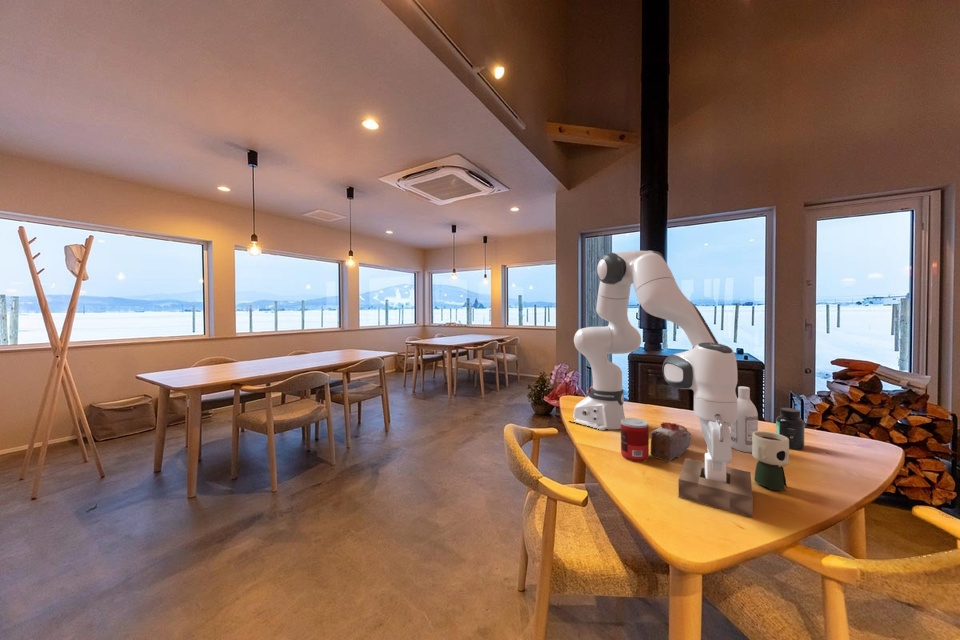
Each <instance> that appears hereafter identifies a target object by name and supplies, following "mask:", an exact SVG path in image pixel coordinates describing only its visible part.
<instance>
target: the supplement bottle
mask: <svg viewBox="0 0 960 640" xmlns="http://www.w3.org/2000/svg"><path fill="white" fill-rule="evenodd" d="M775 433H777V434H780V435H783V436H785V437H787V438H788V439H789V450H792V451H793V450H794V451H800V450H804V449H805V421H804V420H803V419H802V418H801V410H799V409H796V408H790V407H780V410H779V415H778V416H777V417H776V419H775Z"/></svg>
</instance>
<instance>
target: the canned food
mask: <svg viewBox="0 0 960 640" xmlns="http://www.w3.org/2000/svg"><path fill="white" fill-rule="evenodd" d="M649 425H650V424H649V421H647V420H645V419H642V418H637V417H625V419H622V420H621V429H620V452H621V456H622V457H623V458H624V459H625V460H628V461H631V462H636V463H637V462H645V461H647V460H649V457H650V456H649V455H650V454H649V449H650V448H649V446H650V444H649V443H650V441H649V439H650V437H649V436H650V431H649V430H650V429H649V427H650V426H649Z"/></svg>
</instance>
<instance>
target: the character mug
mask: <svg viewBox="0 0 960 640" xmlns="http://www.w3.org/2000/svg"><path fill="white" fill-rule="evenodd" d="M789 453H790V449H789V439H788V438H787V437H785V436H783V435H780V434H777V433H776V432H770V431H764V430H760V431H759V430H758V431H756V432H753V433H752V453H751V454H752V457H753V458H754V459H755V460H757V462H756V465H755V471H754V479H753V480H754V482H755V483H757V484H758V485H761V486H762V487H765V488H767V489H770V490H774V491H785V490H786V489H788V487H787V480H786V479H787V478H786V474H785V469H784V467H783V466H788V465H789V463H790V457H789V455H790V454H789Z"/></svg>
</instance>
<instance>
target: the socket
mask: <svg viewBox="0 0 960 640" xmlns="http://www.w3.org/2000/svg"><path fill="white" fill-rule="evenodd" d="M751 473H752V472H750V471H747V470H742V469H737V468H734V467H728V466H726V483H723V482H719V481H715V480H711V479H707V478H706V477H705V461H700V460H696V459H692V458H686V457H685V458H684V461H683V465H682V468H681V471H680V473H679V476H678V498H680V499H684V500H688V501H692V502H694V503H695V502H696V503H699V504H702V505H706V506H709V507H713V508H717V509H721V510H723V511H727V512H731V513H734V514H737V515H741V516H745V517H750V518H752V519H753V518H754V517H753V511H754V510H753V509H754V508H753V505H754V503H753V501H754V500H753V499H754V498H753V485H752V474H751Z"/></svg>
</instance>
